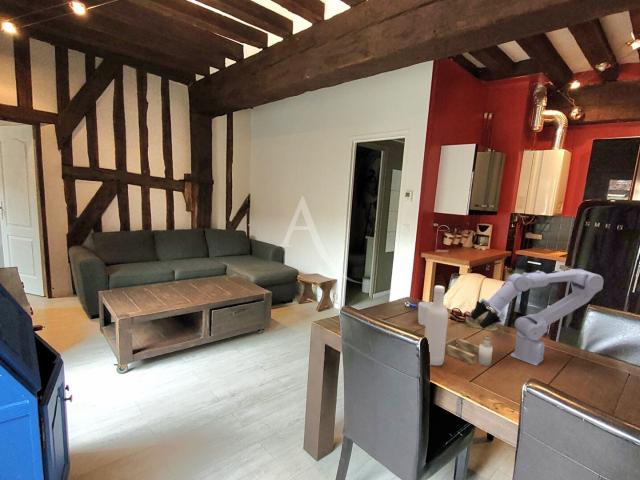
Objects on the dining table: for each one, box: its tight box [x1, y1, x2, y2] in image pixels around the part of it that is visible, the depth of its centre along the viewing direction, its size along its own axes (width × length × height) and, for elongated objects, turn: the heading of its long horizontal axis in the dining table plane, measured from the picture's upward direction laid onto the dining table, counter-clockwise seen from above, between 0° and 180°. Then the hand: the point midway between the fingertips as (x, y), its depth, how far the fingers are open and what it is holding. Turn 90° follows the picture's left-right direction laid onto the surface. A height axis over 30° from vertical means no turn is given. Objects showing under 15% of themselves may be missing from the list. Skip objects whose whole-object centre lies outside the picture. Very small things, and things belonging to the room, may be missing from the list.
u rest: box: [445, 337, 479, 366], centre depth 135 cm, size 14×11×4 cm
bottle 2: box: [477, 335, 494, 367], centre depth 128 cm, size 5×5×10 cm
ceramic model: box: [465, 308, 498, 332], centre depth 164 cm, size 14×11×10 cm
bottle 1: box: [424, 284, 449, 367], centre depth 127 cm, size 8×8×30 cm
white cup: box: [417, 301, 433, 327], centre depth 165 cm, size 8×8×10 cm
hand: (476, 322), depth 133 cm, fingers open, 7 cm apart
